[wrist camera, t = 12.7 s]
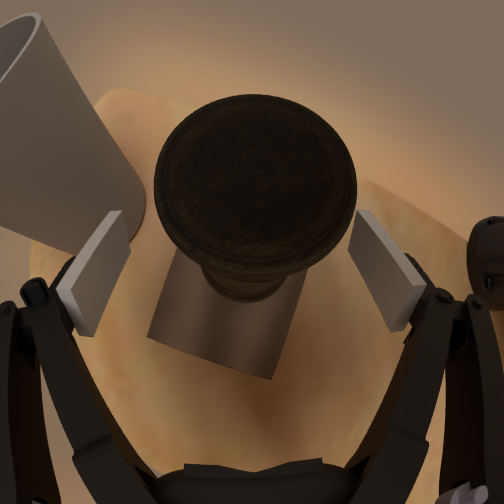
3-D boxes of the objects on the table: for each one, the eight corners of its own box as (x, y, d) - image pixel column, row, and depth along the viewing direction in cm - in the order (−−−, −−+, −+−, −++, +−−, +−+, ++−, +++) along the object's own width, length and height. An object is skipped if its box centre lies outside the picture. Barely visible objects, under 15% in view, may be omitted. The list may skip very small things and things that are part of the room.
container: (263, 318, 27) (312, 332, 9) (182, 273, 28) (102, 212, 10) (305, 239, 29) (392, 145, 11) (228, 197, 29) (222, 64, 12)
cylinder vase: (94, 282, 30) (-92, 231, 5) (47, 213, 31) (-86, 124, 6) (167, 207, 32) (66, 31, 7) (112, 148, 33) (23, 4, 8)
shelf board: (323, 191, 33) (331, 181, 30) (267, 373, 29) (271, 379, 26) (221, 157, 33) (220, 144, 30) (154, 334, 29) (146, 336, 26)
